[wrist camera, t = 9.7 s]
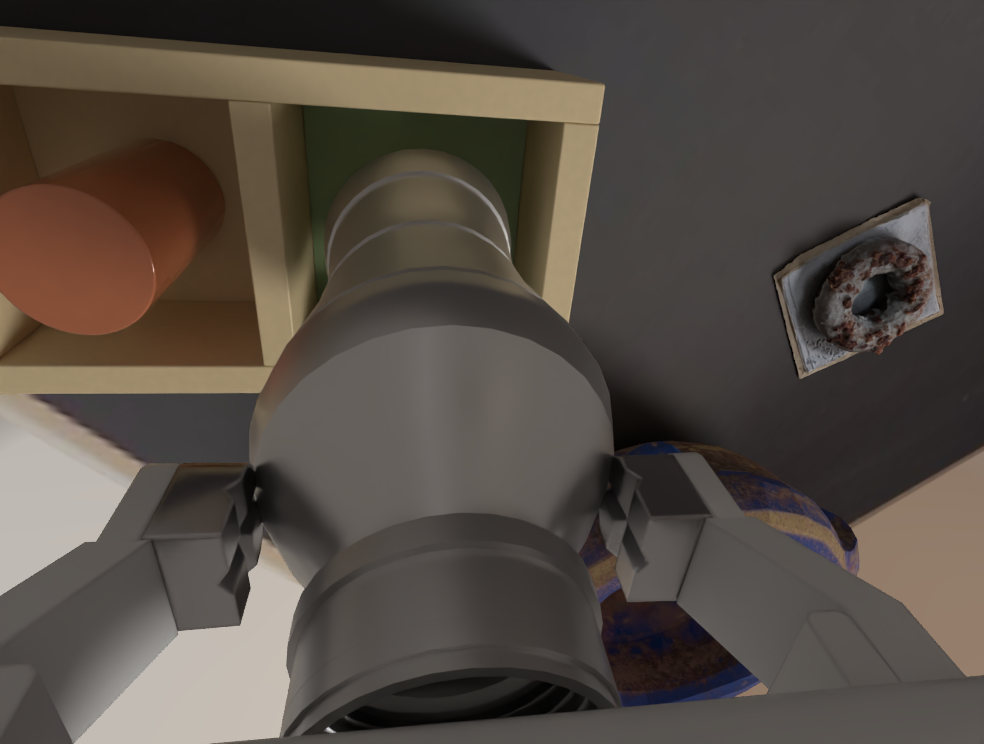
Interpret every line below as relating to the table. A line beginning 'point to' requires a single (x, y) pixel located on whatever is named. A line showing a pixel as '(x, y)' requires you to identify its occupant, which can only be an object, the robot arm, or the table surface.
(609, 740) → the robot arm
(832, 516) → the bowl
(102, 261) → the orange cylinder
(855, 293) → the donut
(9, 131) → the divided box
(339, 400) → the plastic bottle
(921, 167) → the table surface
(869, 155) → the table surface
